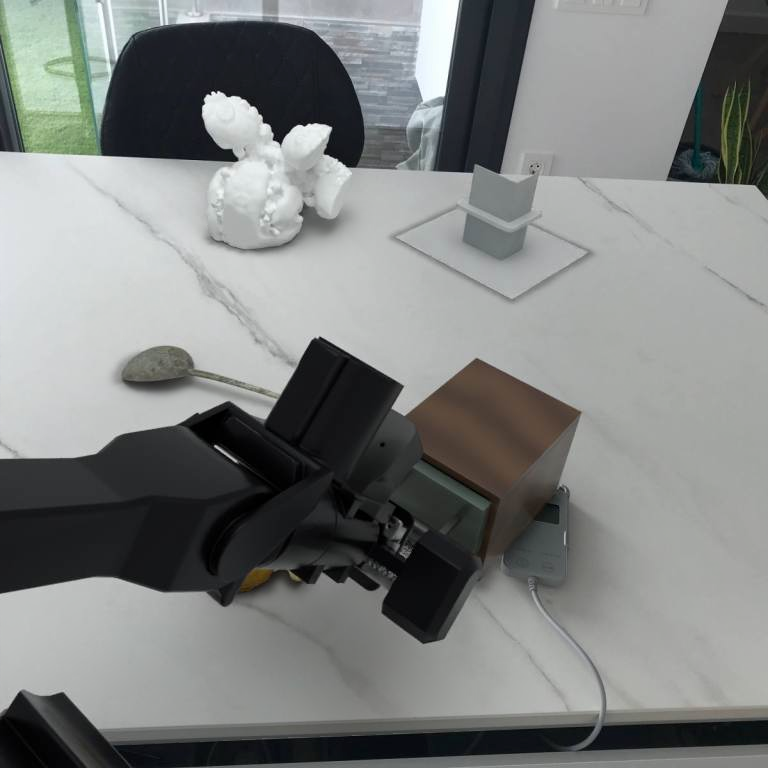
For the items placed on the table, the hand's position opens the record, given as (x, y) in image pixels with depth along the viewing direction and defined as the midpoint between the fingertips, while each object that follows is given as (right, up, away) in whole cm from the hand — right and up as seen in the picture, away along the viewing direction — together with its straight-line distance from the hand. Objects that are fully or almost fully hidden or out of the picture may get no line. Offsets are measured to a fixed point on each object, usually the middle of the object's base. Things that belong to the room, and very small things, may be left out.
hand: (391, 532), depth 60 cm
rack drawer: (+5, -1, +10) cm, 11 cm away
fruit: (-11, -4, +6) cm, 13 cm away
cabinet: (+7, 0, +13) cm, 15 cm away
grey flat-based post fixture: (+15, +31, +51) cm, 62 cm away
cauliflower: (-16, +35, +52) cm, 64 cm away
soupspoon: (-18, +11, +22) cm, 31 cm away
